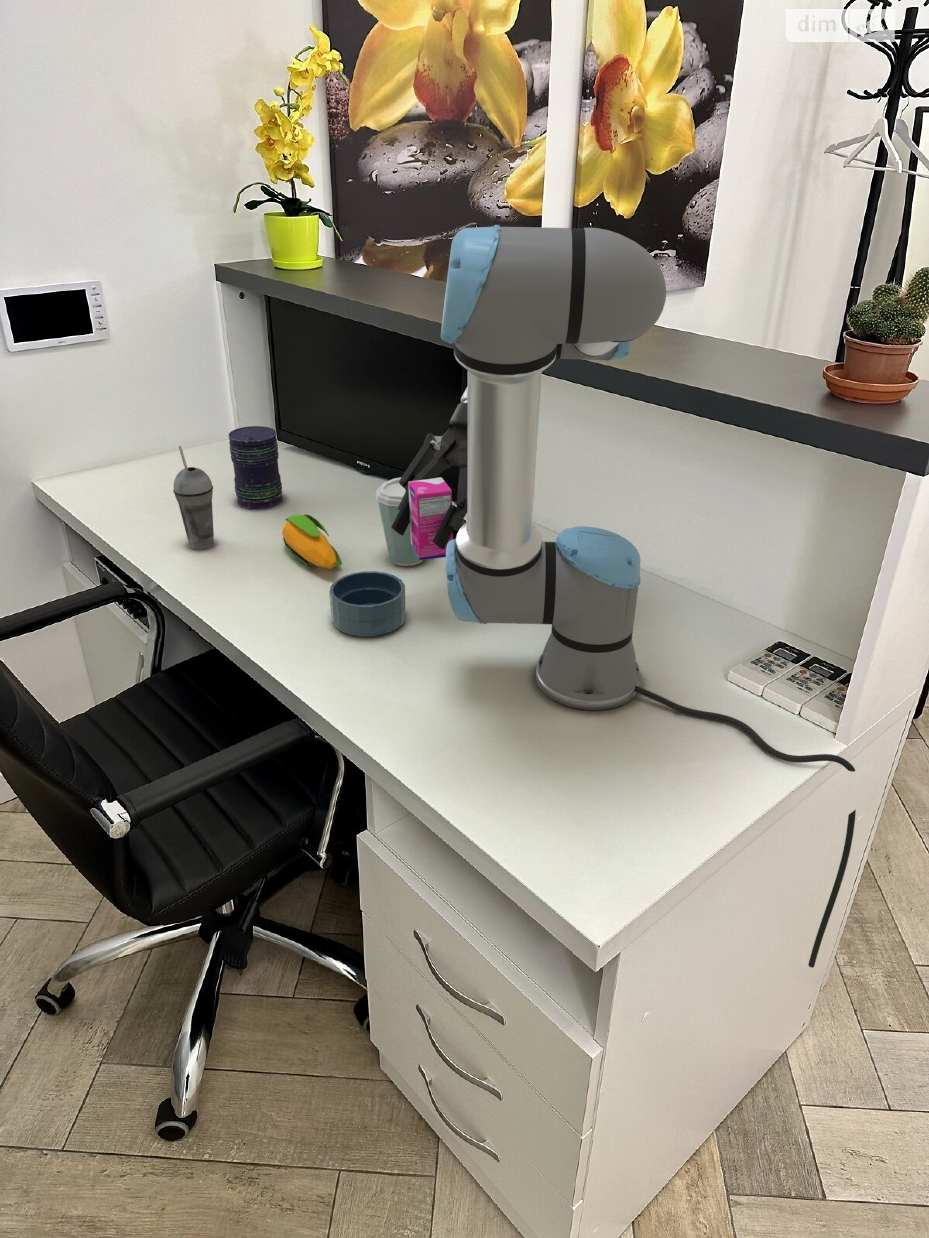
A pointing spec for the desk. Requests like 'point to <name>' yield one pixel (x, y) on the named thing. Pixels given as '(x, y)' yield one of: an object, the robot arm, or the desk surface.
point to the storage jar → (256, 467)
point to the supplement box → (428, 515)
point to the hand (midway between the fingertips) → (417, 538)
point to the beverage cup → (195, 505)
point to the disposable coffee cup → (388, 506)
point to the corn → (309, 541)
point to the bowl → (368, 603)
